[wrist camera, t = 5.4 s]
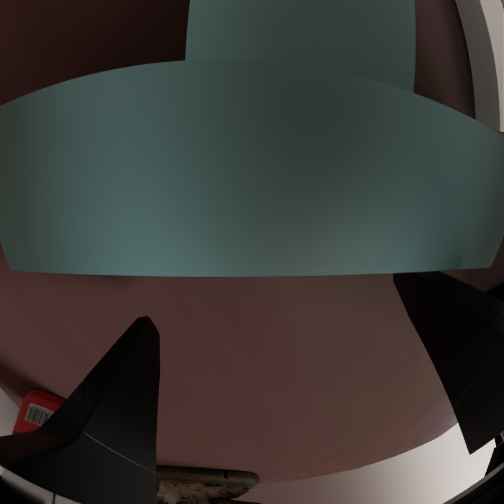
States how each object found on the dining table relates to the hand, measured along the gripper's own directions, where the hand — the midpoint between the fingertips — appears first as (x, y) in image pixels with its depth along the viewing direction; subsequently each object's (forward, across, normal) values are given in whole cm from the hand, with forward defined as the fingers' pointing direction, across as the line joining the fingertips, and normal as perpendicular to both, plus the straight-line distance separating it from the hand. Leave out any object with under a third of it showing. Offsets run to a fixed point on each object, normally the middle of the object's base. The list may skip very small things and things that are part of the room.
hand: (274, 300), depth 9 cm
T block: (+2, -2, -8) cm, 9 cm away
